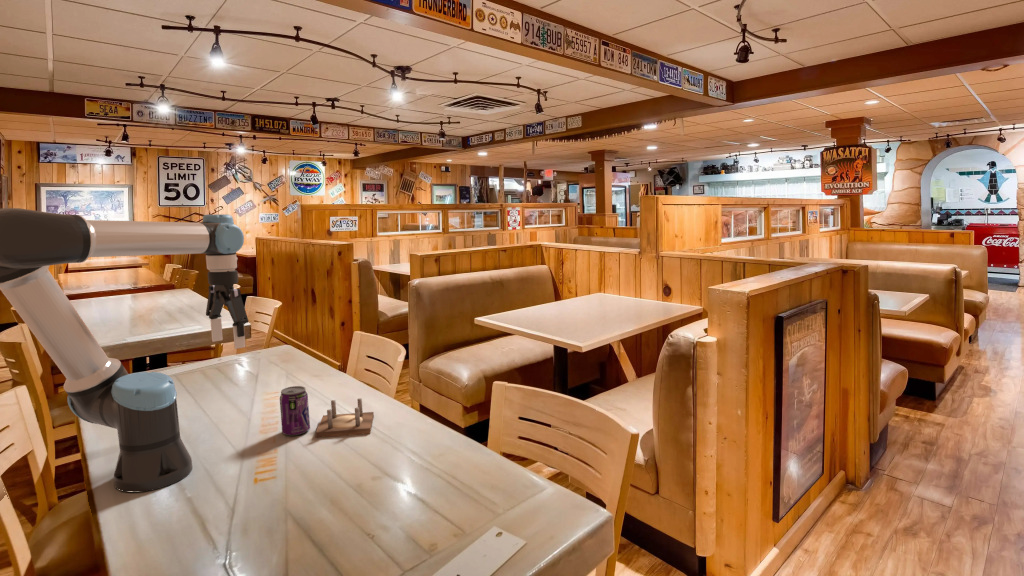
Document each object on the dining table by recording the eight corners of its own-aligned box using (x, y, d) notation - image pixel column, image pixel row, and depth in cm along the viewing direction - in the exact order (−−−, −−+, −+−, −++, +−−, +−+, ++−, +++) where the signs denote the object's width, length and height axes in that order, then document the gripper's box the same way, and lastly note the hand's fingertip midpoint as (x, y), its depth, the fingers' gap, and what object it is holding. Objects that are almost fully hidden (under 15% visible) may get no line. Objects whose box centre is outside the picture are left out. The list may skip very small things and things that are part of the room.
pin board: (370, 433, 151) (369, 410, 150) (316, 437, 148) (314, 414, 147) (373, 416, 162) (372, 395, 161) (323, 420, 160) (322, 398, 159)
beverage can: (300, 438, 148) (297, 395, 146) (276, 436, 150) (273, 393, 148) (315, 427, 155) (312, 386, 153) (292, 426, 156) (289, 384, 154)
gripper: (258, 271, 151) (263, 348, 154) (215, 266, 167) (221, 335, 170) (230, 274, 145) (236, 353, 149) (189, 268, 161) (195, 340, 164)
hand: (228, 344), depth 159 cm, fingers open, 13 cm apart
